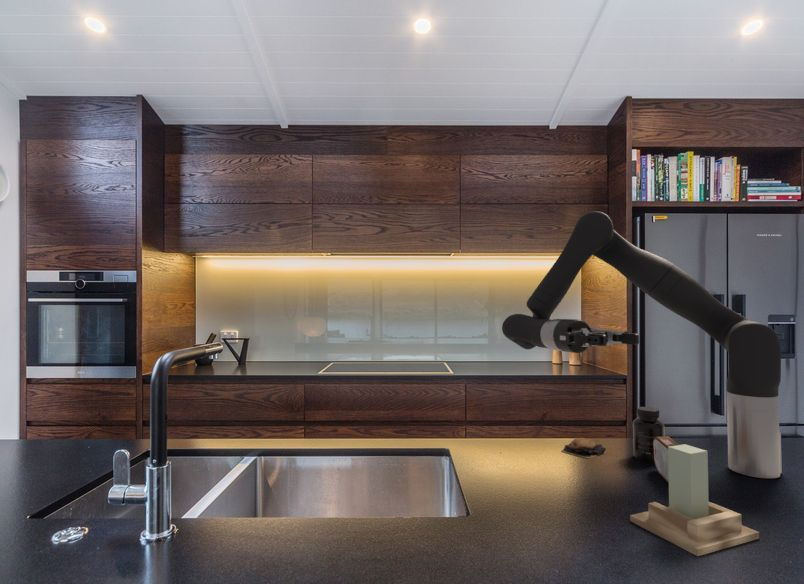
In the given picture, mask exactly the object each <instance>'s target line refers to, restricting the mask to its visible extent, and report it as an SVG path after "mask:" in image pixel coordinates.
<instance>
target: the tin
mask: <svg viewBox="0 0 804 584" xmlns="http://www.w3.org/2000/svg"><path fill="white" fill-rule="evenodd" d="M676 445H680V444H679V443H677V442H676V441H675V440H674V439H673V438H671V437H670V436H668V435H665V437H655V438H654V439H653V450H654V461H655V463H654V465H655V467H656V471H657V472H658V474H659V475H660V476H661V477H662V478H663V480H665V481H666V482H667V483H668V484H669V473H668V447H670V446H676Z"/></svg>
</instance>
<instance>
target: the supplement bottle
mask: <svg viewBox="0 0 804 584" xmlns="http://www.w3.org/2000/svg"><path fill="white" fill-rule="evenodd" d="M636 416H637V417H636V418H635V419H634V420H633V421H632V446H633V447H632V448H633V450H632V451H633V456H634V458H635V459H636V460H639V461H641V462H643V463H644V462H645V463H648V464H649V463H650V464H655V461H654V450H653V439H654V438H655V437H665V436H666V435H665V434H666V430H665V424H664V423H663V421H661V420H660V418H661V415H660V409H658V408H656V407H650V406H638V407H637V408H636Z"/></svg>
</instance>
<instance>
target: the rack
mask: <svg viewBox="0 0 804 584" xmlns="http://www.w3.org/2000/svg"><path fill="white" fill-rule="evenodd" d="M647 508H648V509H647V510H648V511H643V512H638V513H634V514H630V515H629V516H630V518H629V519H630V520H629V521H630V522H632V523H633V524H635V525H637V526H638V527H640V528H642V529H645V530H646V531H649V532H650V533H652V534H654V535H656V536H658V537H660V538H662V539H664V540H666V541H668V542H669V543H672V544H673V545H675V546H677V547H679V548H681V549H683V550H685V551H687V552H688V553H690V554H692V555H695V556H696V557H701V556H704V555H707V554H710V553H714V552H718V551H721V550H724V549H728V548H731V547H735V546H738V545H742V544H744V543H749V542H752V541H756V540H759V539H760V532H759V531H758V530H755V529H752V528H750V527H748V526H745V525H743V524H742V523H743V521H742V519H743V518H742V513H739V512H736V511H733V510H731V509H729V508H726V507H724V506H722V505H719V504H717V503H713V502H710V501H709V516H706V517H702V518H698V519H693V518H690V517H688V516H686V515H684V514H681V513H679V512H677V511H675V510H672V509H670V508H669V506H665V505H663V504H661V503H659V502H657V501H653V502H648V503H647Z"/></svg>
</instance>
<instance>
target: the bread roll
mask: <svg viewBox="0 0 804 584" xmlns="http://www.w3.org/2000/svg"><path fill="white" fill-rule="evenodd" d="M606 452H607V449H606V447H604V446H603V445H602V444H600V443H599V444H597V443H595V442H594V441H592V440H590V439H588V438H585V437H576V438H574V439H573V440H572V441H571V442H570V443H569V444H565V446H564V447H563V449H562V450H561V453H564V454H567V455H571V456H574V457H578V458H582V459H586V460H589V459H592V458H595V457H598V456H600V455H602V454H604V453H606Z"/></svg>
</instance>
